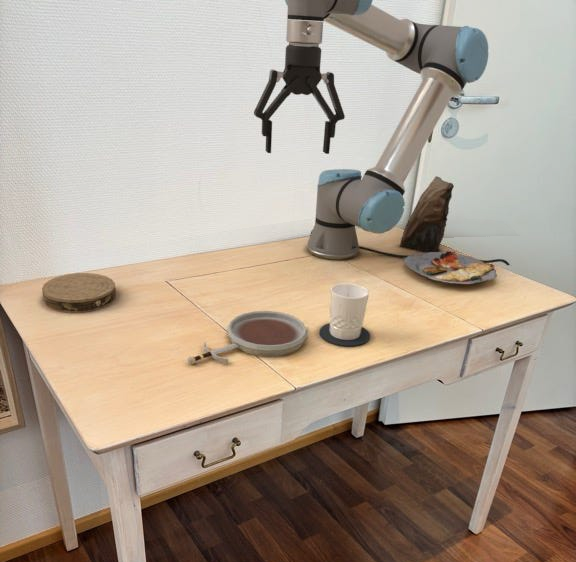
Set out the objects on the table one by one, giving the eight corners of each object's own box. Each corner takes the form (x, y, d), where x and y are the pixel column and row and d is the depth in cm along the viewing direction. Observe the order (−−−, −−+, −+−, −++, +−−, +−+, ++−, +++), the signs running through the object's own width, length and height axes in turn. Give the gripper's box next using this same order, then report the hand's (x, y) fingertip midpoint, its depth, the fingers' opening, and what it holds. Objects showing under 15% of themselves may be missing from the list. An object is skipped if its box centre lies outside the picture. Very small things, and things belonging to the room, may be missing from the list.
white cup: (358, 344, 122) (364, 300, 116) (322, 337, 123) (326, 294, 118) (366, 329, 128) (372, 287, 123) (332, 322, 130) (336, 280, 125)
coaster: (360, 322, 132) (360, 320, 131) (377, 345, 123) (377, 343, 122) (313, 324, 129) (313, 323, 129) (327, 348, 120) (327, 346, 120)
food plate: (449, 254, 175) (452, 242, 173) (512, 280, 159) (515, 268, 157) (387, 266, 163) (389, 254, 161) (448, 297, 147) (451, 284, 145)
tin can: (112, 282, 143) (111, 270, 142) (119, 308, 131) (118, 296, 129) (43, 287, 138) (41, 275, 136) (44, 316, 126) (42, 303, 124)
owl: (419, 238, 186) (431, 173, 176) (454, 248, 179) (468, 182, 169) (397, 246, 178) (408, 179, 168) (432, 257, 171) (446, 188, 161)
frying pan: (164, 337, 115) (273, 302, 131) (165, 350, 117) (272, 313, 133) (213, 373, 105) (325, 330, 121) (213, 387, 106) (324, 343, 122)
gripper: (247, 42, 115) (246, 154, 127) (366, 49, 121) (354, 156, 132) (242, 40, 121) (240, 148, 133) (354, 47, 127) (344, 149, 138)
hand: (297, 152), depth 132 cm, fingers open, 13 cm apart
